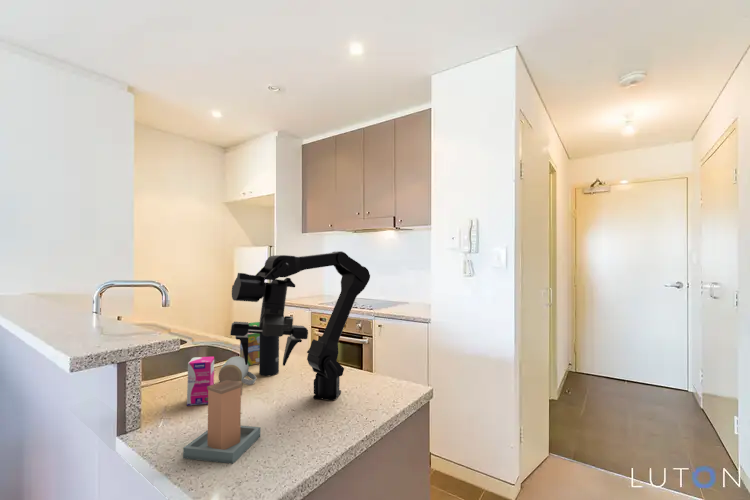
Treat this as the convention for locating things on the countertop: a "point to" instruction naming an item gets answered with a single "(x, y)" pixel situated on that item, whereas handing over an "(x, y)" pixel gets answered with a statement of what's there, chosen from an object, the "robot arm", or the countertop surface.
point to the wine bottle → (269, 355)
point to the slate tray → (230, 455)
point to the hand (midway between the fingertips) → (265, 364)
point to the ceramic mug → (236, 371)
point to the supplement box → (199, 379)
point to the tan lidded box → (224, 414)
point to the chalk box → (252, 347)
